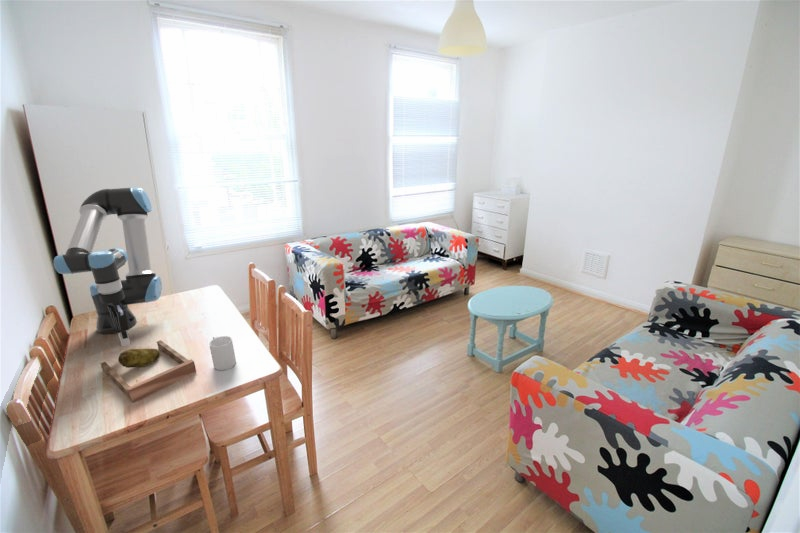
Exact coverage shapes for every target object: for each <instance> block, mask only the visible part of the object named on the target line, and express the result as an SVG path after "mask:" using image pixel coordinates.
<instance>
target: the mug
mask: <svg viewBox="0 0 800 533" xmlns="http://www.w3.org/2000/svg"><path fill="white" fill-rule="evenodd" d="M208 344H209V350H210V354H211V359H212V363H213V367H214V370H217V371H226V370H230V369H232V368H233V367H234V366H235V365H236V363H237V360H236V359H237V358H236V354H235V349H234V343H233V339H232V337H231V336H228V335H224V336H222V335H221V336H217V335H215V336H212V340H210V342H209V343H208Z"/></svg>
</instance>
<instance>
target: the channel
mask: <svg viewBox="0 0 800 533" xmlns="http://www.w3.org/2000/svg"><path fill="white" fill-rule="evenodd" d="M156 344H157V348H158V349H157V350H159V351H161V352H162V353H163V354H165V355H166V356H167V357H168V358H170V359H172V360H173V361H174V362H175V363H177V364H178V365H175V366H174V367H171V368H168V369H167V370H164V371H162V372H159V373H158V374H156V375H152V376H151V377H149V378H147V379H144V380H142V381H140V382H138V383H136V384H133V385H130V384H129V383H127V382H126V380H124V379H123V377H121V376H120V374H118V373H117V372H116V370H114V369H113V368H112V367H111V366H110V365H109V364H108V363H107V361H104V362H103V361H102V362H101V363H100V367H101V370H102V372H103V373H104V374H105V375H106V376H107V377H108V379H109V380H111V381H112V382H113V383H114V385H116V386H117V388H118V389H119V390H120V391H121V392H122V393H123V394H124V395H125V396H126V397H127V399H129V400H130V402H132V403H136V402H137V401H140V400H142V399H144V398H146V397H149V396H150V395H152V394H154V393H157V392H159V391H161V390H163V389H165V388H168V387H169V386H171V385H174V384H175V383H177V382H179V381H182V380H184V379H186V378H188V377H190V376H191V375H194V374H197V369H196V365H195V364H196V363H195V360H193V359H190V360H189V359H188V358H186V357H185V356H184V355H182V354H181V353H179V352H178V351H177V350H175V349H174V348H172V347H171V346H169V345H168V344H167V343H165V342H164V341H162V340H161V339H160V340H158V341H156Z"/></svg>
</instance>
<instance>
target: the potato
mask: <svg viewBox="0 0 800 533" xmlns="http://www.w3.org/2000/svg"><path fill="white" fill-rule="evenodd" d="M160 357H161V352H160V350H159V349H157V348H130V349H126V350H124V351H122V352H121V353H120V354H119V355H118V363H119V364H120V365H122V366H123V367H125V368H131V369H132V368H133V369H134V368H145V367H147V366H150V365H152V364H153V363H156V361H157V360H158V359H159V358H160Z"/></svg>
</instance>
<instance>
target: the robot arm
mask: <svg viewBox="0 0 800 533" xmlns="http://www.w3.org/2000/svg"><path fill="white" fill-rule="evenodd" d="M151 211H152V204H151V200H150V198H149V195H148V194H147V192H146V191H145V189H143V188H141V187H122V188H103V189H100V190H97V191H94V192H93V193H92V194H90V195H89V196H88V197H87V198H86V199H84V200H83V201H82V203H81V205H80V208H79V212H78V213H79V218H78V221H77V223H76V226H75V229H74V232H73V234H72V237H71V239H70V242H69V244H68V246H67V249H66V251H65V254H62V253H61V254H59V255H56V256H54V259H53V268H54V270H55V271H56V272H57V273H58V274H61V275H69V274H72V275H73V274H79V273H88V272H89V273H90V272H91V273H92V275H93V276H92V277H93V279H94V283H92V284H91V285H90V287H89V290H90V297H91V299H92V302H93V304H94V308H95V311H96V316H97V317H96V326H95V327H96V331H97V332H98V333H99V334H103V335H109V334H115V333H117V335H118V337H119V342H120V344H121V346H122V347H125V346H128V345H131V339H130V336H129V333H128V331H129V329H131V328H132V327H133V326H135V325H136V324H137V322H138V320H137V318H136V316H135V314H134V313H133V312H132V310H131V309H130V308H129V306H128V305H137V304H143V303H144V304H146V303H150V302H156V301H158V300H159V299H160V297H161V295H162V279H161V277H160V276H158V275H156V272H155V271H154V270H152V267H151V258H150V253H149V245H148V244H149V243H148V237H147V229H146V224H145V220H146V219H147V218H148V217H149V216H148V213H151ZM111 215H116V216H117V219H119V220H120V221H121V223H122V230H123V236H124V237H123V238H124V244H125V250H124V249H121V248H119V247H118V248H117V247H114V248H110V249H108V250H100V251H93V249H94V247H95V243H96V240H97V237H98V234H99V232H100V229H101V225H102V223H103V221H104V220H106V219H107V217H108V216H111ZM126 263H127V267H128V272H127V274H126V275H125V279H122V278H120V274H119V269H120V268H122V267H123V266H124V265H126Z"/></svg>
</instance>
